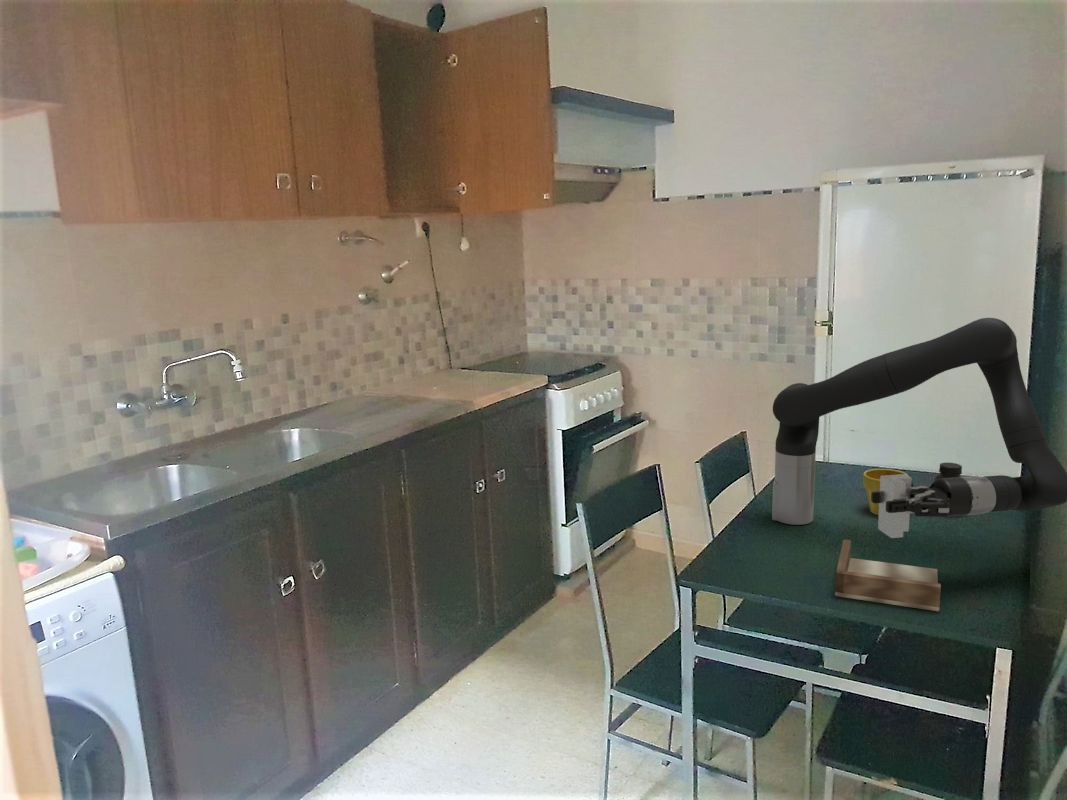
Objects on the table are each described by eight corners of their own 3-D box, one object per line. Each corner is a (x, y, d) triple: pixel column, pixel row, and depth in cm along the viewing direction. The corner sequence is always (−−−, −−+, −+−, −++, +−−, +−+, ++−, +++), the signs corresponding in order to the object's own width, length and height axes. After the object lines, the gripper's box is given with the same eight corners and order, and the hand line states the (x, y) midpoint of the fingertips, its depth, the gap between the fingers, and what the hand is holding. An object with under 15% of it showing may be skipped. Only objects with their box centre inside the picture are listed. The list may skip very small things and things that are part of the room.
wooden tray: (834, 595, 154) (836, 572, 153) (842, 560, 170) (843, 539, 169) (939, 611, 146) (940, 587, 145) (936, 572, 162) (938, 550, 161)
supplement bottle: (932, 515, 194) (935, 467, 191) (930, 506, 200) (933, 460, 197) (964, 518, 191) (968, 470, 189) (961, 508, 197) (964, 462, 195)
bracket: (878, 528, 158) (880, 475, 156) (902, 526, 159) (904, 474, 156) (891, 538, 153) (893, 483, 151) (916, 536, 154) (919, 481, 152)
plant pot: (852, 509, 200) (854, 471, 198) (883, 502, 204) (886, 465, 202) (884, 522, 190) (886, 483, 188) (916, 515, 194) (919, 476, 192)
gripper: (942, 467, 162) (861, 473, 161) (987, 489, 148) (899, 495, 147) (940, 502, 163) (860, 508, 162) (984, 527, 149) (897, 534, 148)
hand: (879, 502), depth 154 cm, fingers closed on bracket, 5 cm apart
